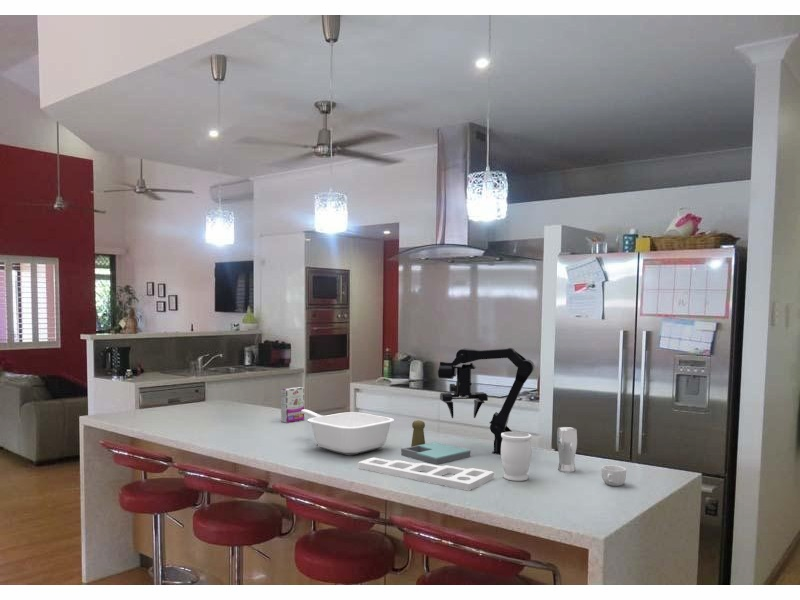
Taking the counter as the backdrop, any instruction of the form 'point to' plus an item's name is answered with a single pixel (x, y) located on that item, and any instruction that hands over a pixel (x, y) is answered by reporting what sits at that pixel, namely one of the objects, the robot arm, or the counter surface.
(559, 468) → the beer glass
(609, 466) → the teacup
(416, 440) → the brown waisted cylinder
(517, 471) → the jar
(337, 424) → the pot
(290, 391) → the candy bar box
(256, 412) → the counter surface
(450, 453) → the teal gray square board
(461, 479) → the holder
